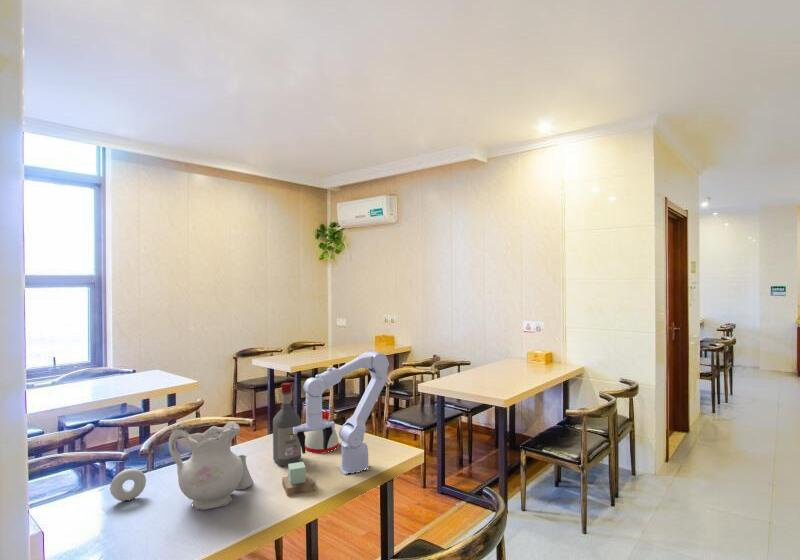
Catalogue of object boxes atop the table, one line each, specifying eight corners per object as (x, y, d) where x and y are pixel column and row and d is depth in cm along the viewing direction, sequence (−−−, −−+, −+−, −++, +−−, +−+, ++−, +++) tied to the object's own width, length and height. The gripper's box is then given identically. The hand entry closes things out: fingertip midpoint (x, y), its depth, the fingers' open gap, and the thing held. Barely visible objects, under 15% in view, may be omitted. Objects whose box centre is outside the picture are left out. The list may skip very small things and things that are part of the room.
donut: (110, 507, 143) (109, 475, 143) (110, 502, 146) (109, 471, 145) (146, 498, 148) (146, 467, 148) (145, 493, 151) (145, 463, 151)
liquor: (303, 462, 176) (302, 384, 175) (279, 468, 170) (278, 387, 170) (294, 454, 183) (293, 379, 183) (271, 460, 178) (270, 383, 178)
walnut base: (308, 481, 160) (308, 472, 160) (314, 492, 152) (314, 483, 152) (282, 486, 157) (282, 477, 157) (287, 497, 149) (287, 488, 149)
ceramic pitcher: (169, 527, 133) (169, 443, 131) (168, 494, 150) (168, 419, 148) (247, 509, 143) (248, 431, 141) (238, 480, 160) (238, 410, 158)
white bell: (345, 446, 192) (344, 410, 192) (319, 456, 182) (318, 418, 182) (324, 438, 201) (323, 404, 201) (298, 447, 191) (297, 411, 191)
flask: (245, 491, 152) (245, 461, 152) (226, 489, 154) (225, 459, 154) (257, 481, 159) (256, 453, 159) (238, 480, 161) (237, 451, 161)
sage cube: (303, 476, 158) (303, 461, 158) (305, 482, 153) (305, 467, 153) (288, 478, 156) (288, 463, 156) (290, 484, 151) (290, 469, 151)
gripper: (330, 407, 169) (331, 443, 169) (291, 412, 162) (291, 450, 163) (336, 412, 162) (336, 450, 162) (295, 417, 156) (295, 457, 156)
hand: (314, 451), depth 162 cm, fingers open, 7 cm apart
